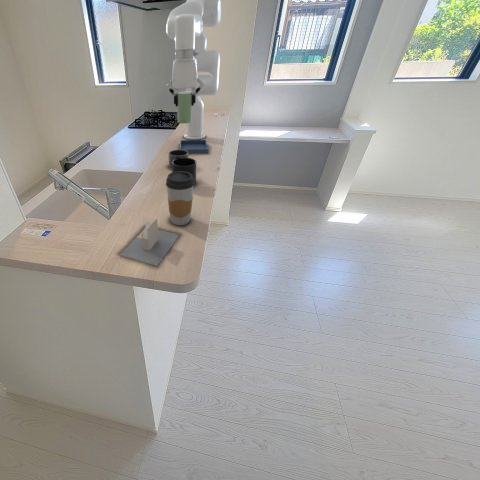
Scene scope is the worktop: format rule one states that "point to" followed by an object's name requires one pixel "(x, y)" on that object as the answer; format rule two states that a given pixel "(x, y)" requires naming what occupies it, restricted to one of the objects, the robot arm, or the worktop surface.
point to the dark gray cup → (177, 155)
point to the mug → (185, 166)
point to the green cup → (184, 107)
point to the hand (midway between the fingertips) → (184, 105)
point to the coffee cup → (180, 196)
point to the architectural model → (150, 244)
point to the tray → (194, 146)
